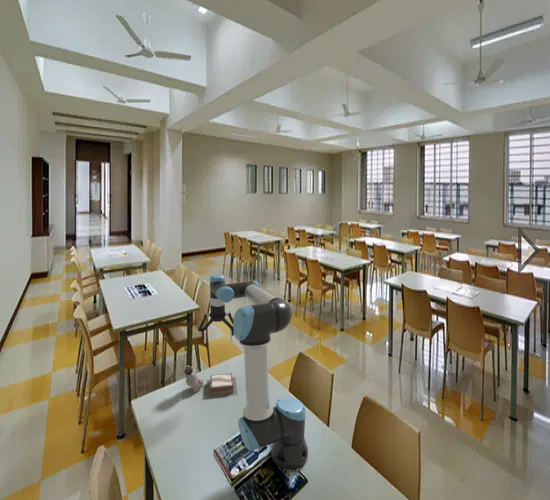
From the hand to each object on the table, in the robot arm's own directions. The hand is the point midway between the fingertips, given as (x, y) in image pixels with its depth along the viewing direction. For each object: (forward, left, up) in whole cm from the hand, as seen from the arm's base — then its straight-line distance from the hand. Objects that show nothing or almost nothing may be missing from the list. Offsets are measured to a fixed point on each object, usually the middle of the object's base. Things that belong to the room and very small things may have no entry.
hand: (218, 341), depth 165 cm
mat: (-1, -2, -27) cm, 27 cm away
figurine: (-1, +13, -27) cm, 30 cm away
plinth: (-1, -2, -27) cm, 26 cm away
